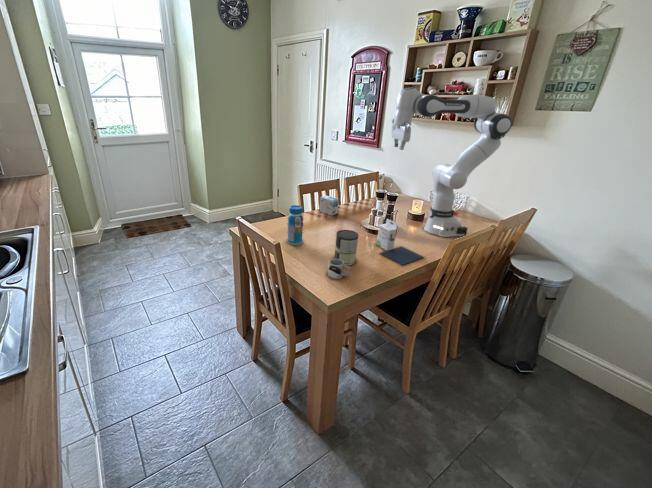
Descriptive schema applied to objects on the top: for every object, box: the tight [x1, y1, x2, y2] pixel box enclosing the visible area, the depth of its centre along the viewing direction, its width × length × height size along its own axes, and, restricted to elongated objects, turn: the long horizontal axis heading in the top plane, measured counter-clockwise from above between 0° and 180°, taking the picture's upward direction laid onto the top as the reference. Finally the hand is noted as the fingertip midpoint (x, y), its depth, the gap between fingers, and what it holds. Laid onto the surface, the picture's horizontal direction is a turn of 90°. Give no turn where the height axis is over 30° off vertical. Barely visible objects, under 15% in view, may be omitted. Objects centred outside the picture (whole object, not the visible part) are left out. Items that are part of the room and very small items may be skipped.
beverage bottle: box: [286, 204, 304, 246], centre depth 174 cm, size 8×8×20 cm
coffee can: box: [333, 229, 359, 266], centre depth 157 cm, size 10×10×14 cm
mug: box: [327, 258, 352, 280], centre depth 145 cm, size 10×7×7 cm, turn 69°
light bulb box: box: [319, 195, 340, 217], centre depth 220 cm, size 11×7×11 cm, turn 47°
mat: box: [379, 246, 424, 266], centre depth 165 cm, size 14×16×1 cm
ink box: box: [375, 218, 398, 252], centre depth 172 cm, size 9×5×15 cm, turn 26°
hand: (398, 148), depth 177 cm, fingers open, 8 cm apart
